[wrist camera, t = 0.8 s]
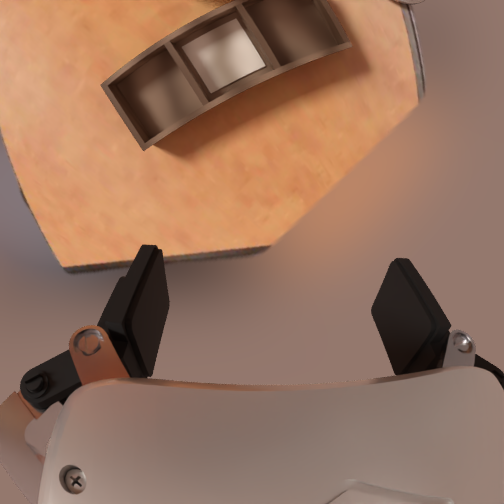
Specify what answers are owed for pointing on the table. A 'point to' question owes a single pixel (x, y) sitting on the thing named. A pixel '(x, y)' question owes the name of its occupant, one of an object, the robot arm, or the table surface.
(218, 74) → the walnut rack
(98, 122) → the table surface
